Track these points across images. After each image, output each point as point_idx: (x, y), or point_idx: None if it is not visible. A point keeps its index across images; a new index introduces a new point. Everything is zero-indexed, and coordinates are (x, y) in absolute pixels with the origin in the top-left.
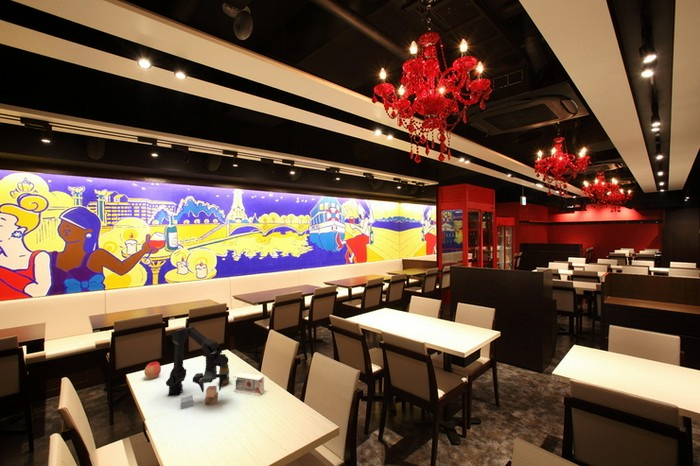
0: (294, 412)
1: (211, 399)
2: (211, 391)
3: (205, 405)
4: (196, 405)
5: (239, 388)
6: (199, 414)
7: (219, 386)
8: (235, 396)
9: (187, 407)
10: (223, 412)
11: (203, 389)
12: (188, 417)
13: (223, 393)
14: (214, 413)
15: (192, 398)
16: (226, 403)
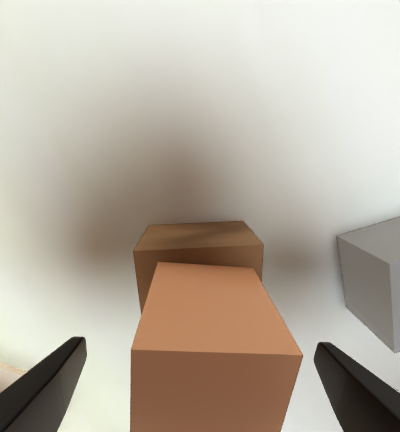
0: None
1: (189, 241)
2: (192, 317)
3: (239, 221)
4: (312, 242)
5: None
6: (269, 64)
7: (6, 420)
8: (14, 310)
9: (380, 223)
10: (23, 27)
11: (337, 391)
12: (367, 33)
13: None
14: (119, 36)
15: (395, 287)
16: (55, 213)
